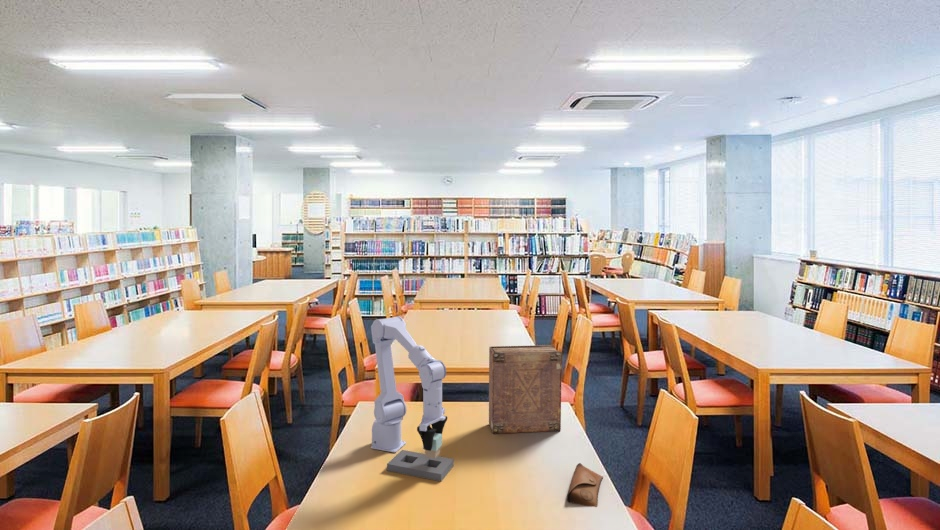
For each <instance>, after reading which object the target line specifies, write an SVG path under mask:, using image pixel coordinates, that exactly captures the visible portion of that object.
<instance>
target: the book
mask: <svg viewBox="0 0 940 530" xmlns="http://www.w3.org/2000/svg"><path fill="white" fill-rule="evenodd" d="M488 350H489V351H488V353H489V354H488V356H489V357H488V364H489V365H488V425H489V427H490V430H491V432H492V434H493V435H500V434H501V435H503V434H506V435H507V434H529V433H531V434H532V433H553V432H561V430H562V429H561V428H562V424H561V423H562V422H561V421H562V420H561V418H562V371H563V370H562V368H563V366H562V365H563V363H562V362H563V359H562V358H563V352H562V351H561V350H557V349H556V346H555V344H537V345H505V346H504V345H502V346H501V345H500V346H498V345H497V346H495V345H494V346H489V349H488Z"/></svg>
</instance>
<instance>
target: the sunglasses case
mask: <svg viewBox="0 0 940 530" xmlns="http://www.w3.org/2000/svg"><path fill="white" fill-rule="evenodd" d="M603 480H604V476H602V475H600V474H598V473H597V472H595V471H593V470H591V469H590V468H588V467H586V466H584V465H583V464H582V463H581V462H579V463H577V464H576V466H575V468H574V471H573V474H572V478H571V480H570V484H569V488H568V492H567V496H566V498H567V502H568V503H570V504H576V505H581V506H587V507H594V508H597V507H598V503H599V502H598V498H599V493H600V488H601V484H602V481H603Z"/></svg>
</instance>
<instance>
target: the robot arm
mask: <svg viewBox="0 0 940 530" xmlns="http://www.w3.org/2000/svg"><path fill="white" fill-rule="evenodd" d="M406 323H407V322H406V321H405V320H404V318H403V317H401V316H400V315H397V316H394V317H388V318H379V319H375V320H373V322H372V324H371V326H370V330H371V340H372V344H374V348H375V357H376V364H377V365H376V366H377V373H378V380H379V388H380V394H378V396H377V397H376V398H375V399H374V410H373V416H374V418H375V420H374V421H373V424H372V425H371V426H372V427H371V446H370V448H371V449H373V450H378V451H383V452H384V451H385V452H391V453H397V452H398V451H400V449H401V448H402V447H403V446H405V445H406V444H407V441H405V440H402V421H403V420H404V417H405V416H406V414H407V411H408V410H407V408H408V407H407V404H406V402H405V399H404V394H402V393H400V392H399V391H397V386H396V385H397V384H396V378H395V368H394V361H393V355H392V352H393V351H392V344H393V343H394V341H395V340H396V341H397V342H398V343H399V344H400V345H401V346H402V347H403V348H404V349H405V350H406V351H407V352H408V359H409V360H410V361H411V363H412V364H413V365H414V366H415V368H416V369H417V370H418V376H419V379H420V381H421V386H422V389H423V390H422V392H423V393H422V397H423V398H422V400H423V401H422V406H423V407H422V412H423V414H422V418H421V422H420V423H419V425H418V426H417V428H416V431H417V432H418V435H419V437H420V438H421V441H422V447H423V446H424V449H423V450H424V451H425V450H429V451H431V449H432V444H433V437H434V434H435V433H439V434H442V435H443V431H444V427H445V424H446V422H447V421H448V416H447V415H444V414H445V413H446V407H444V406H443V379H445V378H446V376H447V368H446V366H445V363H444V362H443V361H442V360H438V359H437V358H435V357H433V356H432V354H431V353H429V352H428V351H427V349H426V347H425V346H423V345H422V344H421V345H418V344H417V343H416V341H415V339H413V337H412V335H411V334H410V332H409V331H408V330H407V324H406Z"/></svg>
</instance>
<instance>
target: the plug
mask: <svg viewBox="0 0 940 530" xmlns="http://www.w3.org/2000/svg"><path fill="white" fill-rule="evenodd" d="M442 446H443V433H442V434H439V433H435V434H434V437H433V444H432V449H431V451H429V450H424V446H423V445H422V449H423V450H424V451H425V452H424V454H425V456H426V457H432V458H436V457H437V456H439V455H440V453H441V447H442Z"/></svg>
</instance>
